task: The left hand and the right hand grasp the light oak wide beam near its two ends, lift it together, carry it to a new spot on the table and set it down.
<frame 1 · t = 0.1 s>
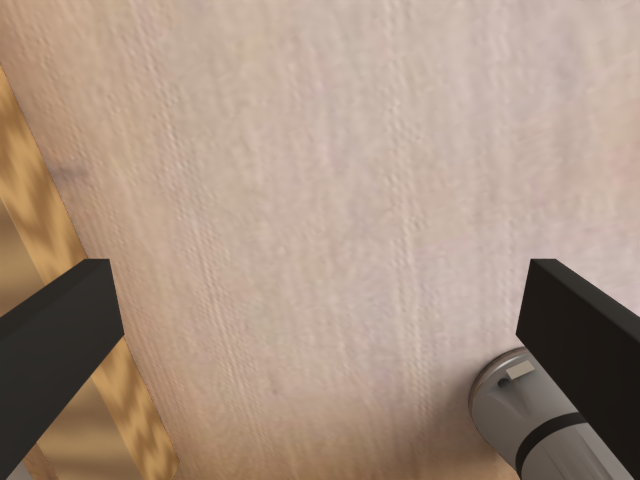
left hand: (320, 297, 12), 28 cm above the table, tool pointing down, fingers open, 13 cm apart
wide beam: (52, 275, 43), on the table
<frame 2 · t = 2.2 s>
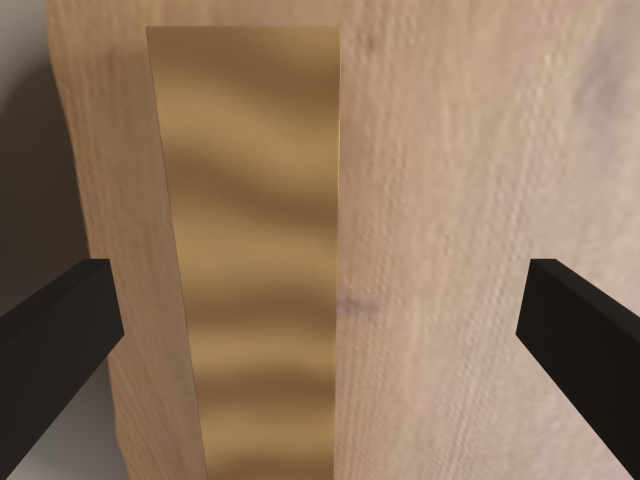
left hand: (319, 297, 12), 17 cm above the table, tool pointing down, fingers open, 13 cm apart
wide beam: (279, 404, 35), on the table
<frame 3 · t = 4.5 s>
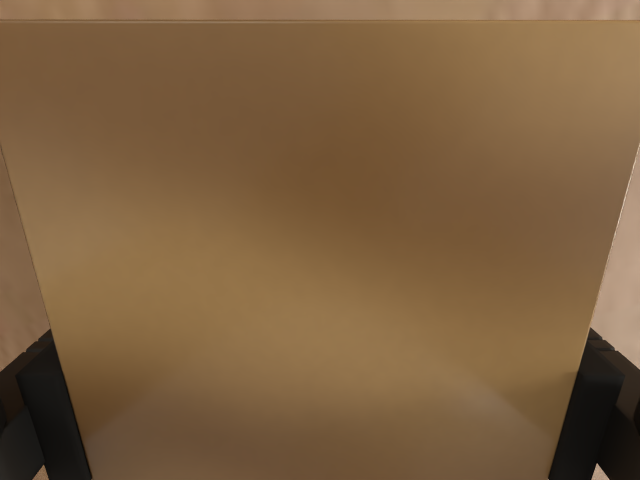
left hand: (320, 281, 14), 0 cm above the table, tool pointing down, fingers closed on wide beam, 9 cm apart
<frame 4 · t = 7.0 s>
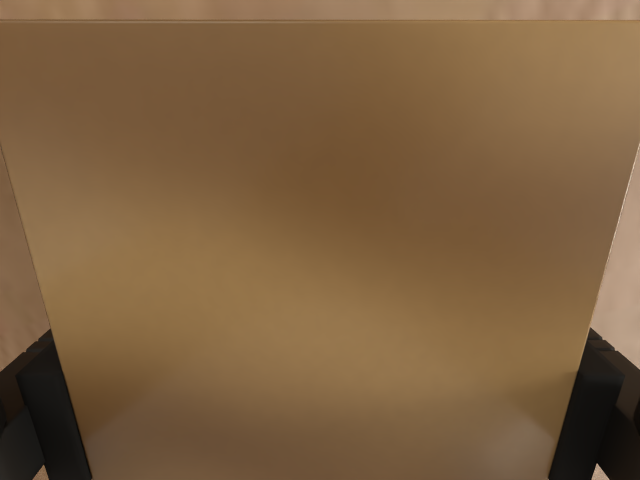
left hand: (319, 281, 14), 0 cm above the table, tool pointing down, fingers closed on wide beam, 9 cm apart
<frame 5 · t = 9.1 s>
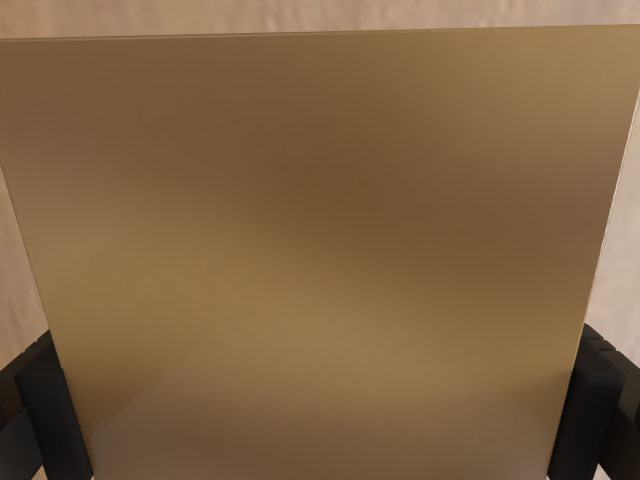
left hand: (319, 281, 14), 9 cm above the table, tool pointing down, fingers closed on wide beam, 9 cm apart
when the left hand's fingers open (1 cm above the table, at t = 11.3 s): wide beam stays where it is, on the table.
when the right hand's fingers open (1 cm above the table, at t = 11.3 s): wide beam stays where it is, on the table.
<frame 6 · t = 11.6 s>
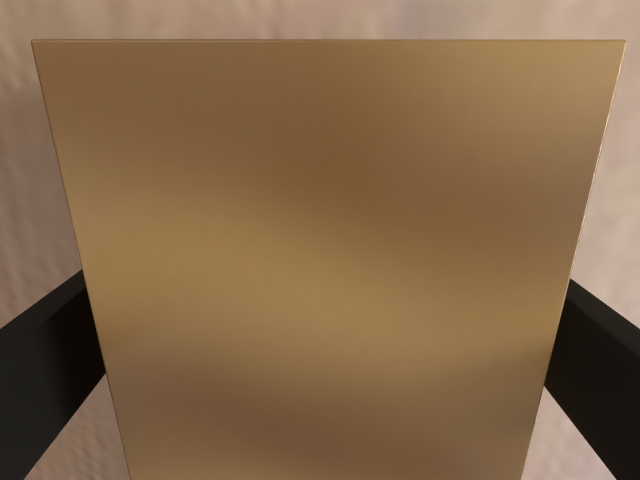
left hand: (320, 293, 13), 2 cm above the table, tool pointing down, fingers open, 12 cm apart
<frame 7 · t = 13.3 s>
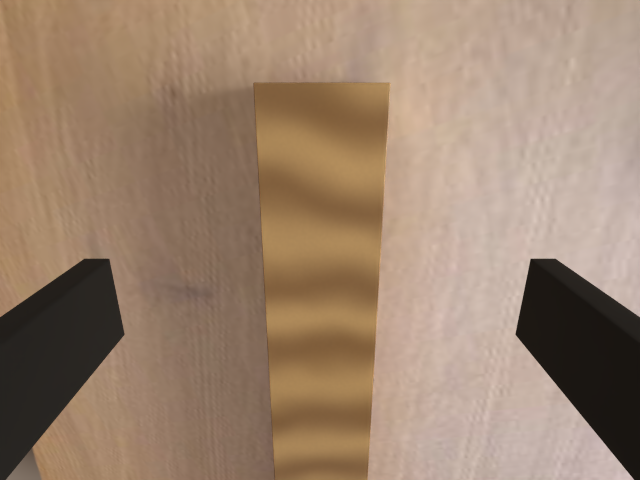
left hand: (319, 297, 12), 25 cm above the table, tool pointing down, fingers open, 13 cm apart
wide beam: (321, 369, 43), on the table
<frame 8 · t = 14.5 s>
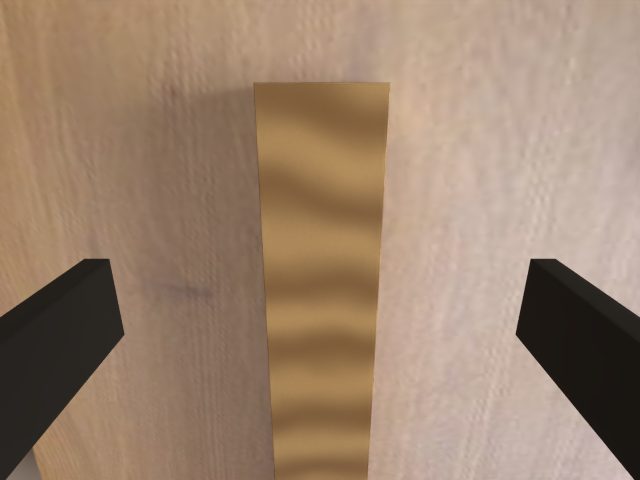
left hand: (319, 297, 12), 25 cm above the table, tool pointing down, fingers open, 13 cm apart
wide beam: (321, 369, 43), on the table
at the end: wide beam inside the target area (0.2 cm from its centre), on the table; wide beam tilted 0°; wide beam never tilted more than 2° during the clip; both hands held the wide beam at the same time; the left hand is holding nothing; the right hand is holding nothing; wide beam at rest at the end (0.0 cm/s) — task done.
